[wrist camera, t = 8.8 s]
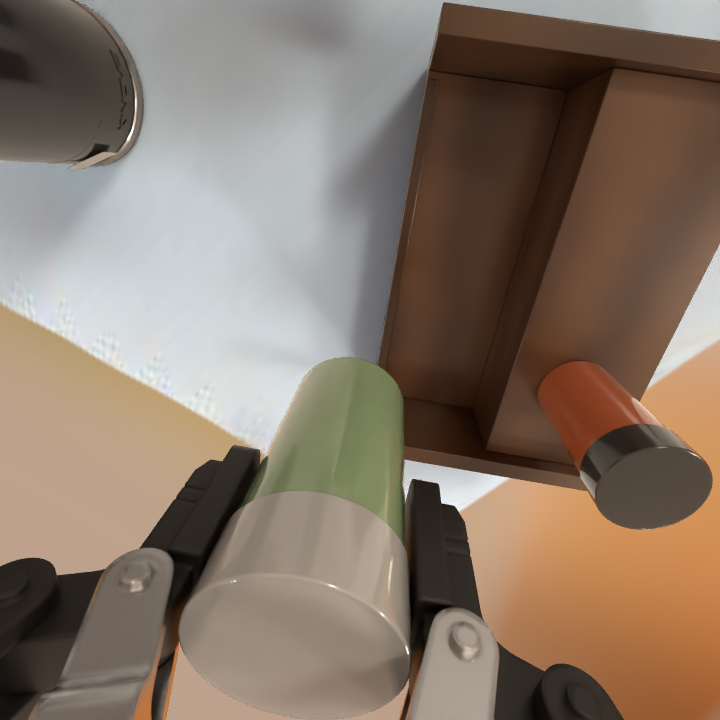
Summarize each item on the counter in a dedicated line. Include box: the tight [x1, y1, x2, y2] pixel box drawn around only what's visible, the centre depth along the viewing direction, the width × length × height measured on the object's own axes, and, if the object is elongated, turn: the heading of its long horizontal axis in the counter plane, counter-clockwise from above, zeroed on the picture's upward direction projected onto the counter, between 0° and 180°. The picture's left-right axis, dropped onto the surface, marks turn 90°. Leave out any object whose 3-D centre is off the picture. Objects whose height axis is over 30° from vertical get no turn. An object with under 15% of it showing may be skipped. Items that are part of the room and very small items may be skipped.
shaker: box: [178, 357, 412, 720], centre depth 11 cm, size 4×4×9 cm
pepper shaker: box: [538, 361, 712, 530], centre depth 19 cm, size 4×4×8 cm
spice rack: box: [377, 2, 720, 491], centre depth 25 cm, size 15×22×10 cm
